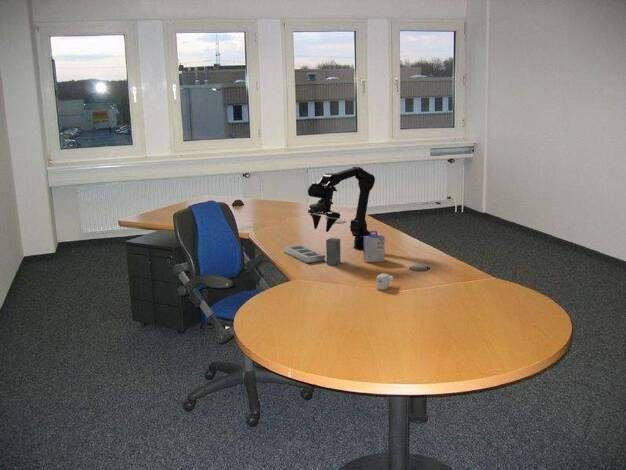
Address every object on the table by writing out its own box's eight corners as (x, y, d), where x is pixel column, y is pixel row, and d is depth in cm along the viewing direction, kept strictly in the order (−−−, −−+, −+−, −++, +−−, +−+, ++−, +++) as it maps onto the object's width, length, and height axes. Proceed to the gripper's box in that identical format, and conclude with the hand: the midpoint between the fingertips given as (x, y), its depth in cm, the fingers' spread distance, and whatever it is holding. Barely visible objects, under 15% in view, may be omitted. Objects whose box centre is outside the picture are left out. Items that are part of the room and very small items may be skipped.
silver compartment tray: (284, 252, 317) (284, 247, 316) (301, 250, 321) (301, 244, 321) (306, 263, 294) (306, 257, 294) (325, 261, 299) (324, 255, 298)
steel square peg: (331, 262, 297) (330, 237, 294) (340, 263, 295) (340, 238, 292) (326, 264, 293) (326, 240, 290) (336, 265, 290) (335, 241, 288)
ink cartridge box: (383, 258, 300) (383, 230, 297) (385, 261, 295) (385, 232, 292) (363, 259, 300) (363, 230, 297) (365, 262, 294) (365, 233, 291)
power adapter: (385, 282, 262) (385, 269, 260) (395, 283, 259) (396, 270, 258) (374, 289, 252) (374, 275, 251) (385, 291, 250) (385, 277, 249)
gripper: (302, 195, 304) (297, 225, 305) (326, 199, 290) (320, 231, 291) (319, 197, 312) (314, 228, 313) (343, 202, 297) (337, 233, 298)
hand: (321, 230), depth 303 cm, fingers open, 9 cm apart
